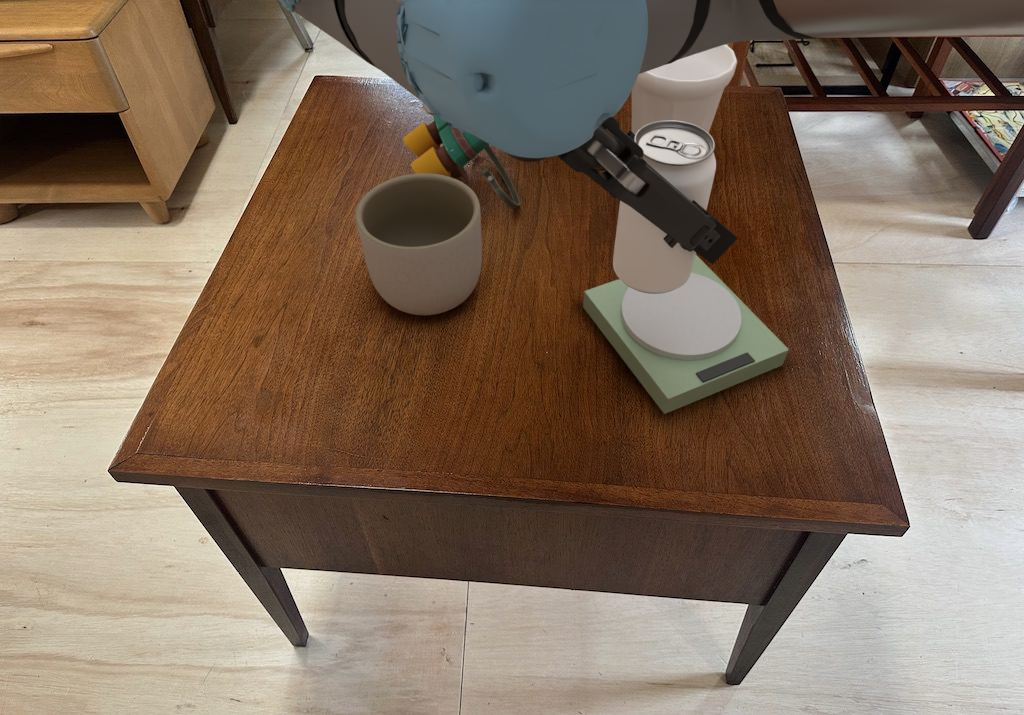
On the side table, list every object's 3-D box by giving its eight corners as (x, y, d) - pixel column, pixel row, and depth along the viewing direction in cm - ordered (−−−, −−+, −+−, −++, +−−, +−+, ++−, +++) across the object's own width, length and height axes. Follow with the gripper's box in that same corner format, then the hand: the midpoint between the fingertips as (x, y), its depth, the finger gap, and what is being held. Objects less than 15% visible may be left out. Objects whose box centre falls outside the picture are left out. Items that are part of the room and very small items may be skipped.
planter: (477, 246, 83) (472, 167, 75) (491, 321, 75) (487, 241, 67) (371, 258, 82) (354, 179, 74) (374, 335, 74) (355, 256, 66)
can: (673, 307, 56) (703, 178, 47) (599, 280, 58) (613, 151, 49) (701, 259, 59) (733, 131, 50) (630, 235, 61) (649, 108, 52)
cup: (727, 161, 94) (755, 48, 82) (682, 208, 88) (706, 93, 76) (645, 132, 99) (661, 21, 87) (597, 174, 93) (607, 61, 81)
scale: (782, 365, 71) (791, 344, 68) (664, 414, 67) (669, 393, 65) (690, 268, 80) (695, 247, 78) (582, 306, 77) (584, 285, 74)
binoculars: (459, 189, 96) (388, 112, 85) (544, 128, 93) (481, 39, 82) (483, 255, 87) (408, 177, 76) (578, 190, 84) (513, 98, 73)
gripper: (411, 57, 47) (602, 193, 64) (545, 220, 36) (735, 335, 52) (480, -44, 45) (660, 126, 61) (648, 97, 33) (814, 259, 50)
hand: (694, 222), depth 57 cm, fingers closed on can, 6 cm apart
